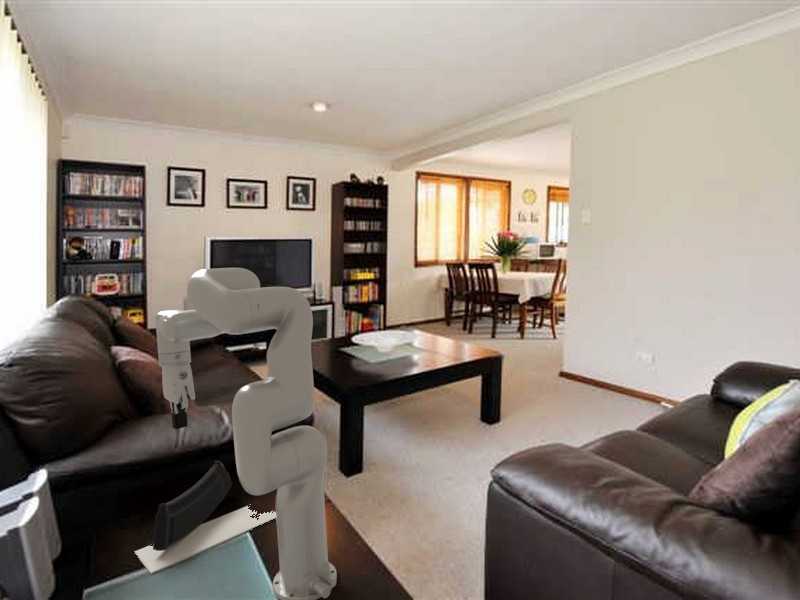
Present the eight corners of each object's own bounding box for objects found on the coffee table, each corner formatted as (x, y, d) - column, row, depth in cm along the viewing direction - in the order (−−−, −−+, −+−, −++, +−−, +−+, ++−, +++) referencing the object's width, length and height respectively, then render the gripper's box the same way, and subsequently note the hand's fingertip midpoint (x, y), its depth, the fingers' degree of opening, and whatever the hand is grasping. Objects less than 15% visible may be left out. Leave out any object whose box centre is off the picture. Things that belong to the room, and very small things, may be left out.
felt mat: (280, 516, 124) (280, 515, 124) (151, 574, 103) (150, 572, 103) (258, 502, 133) (258, 501, 133) (134, 553, 111) (134, 551, 111)
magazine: (155, 521, 105) (220, 438, 133) (141, 521, 106) (209, 438, 134) (176, 581, 111) (234, 488, 139) (163, 580, 111) (223, 488, 139)
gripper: (201, 358, 123) (206, 429, 124) (179, 352, 134) (184, 417, 135) (170, 364, 118) (175, 437, 119) (149, 357, 128) (155, 425, 130)
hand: (180, 427), depth 127 cm, fingers closed
